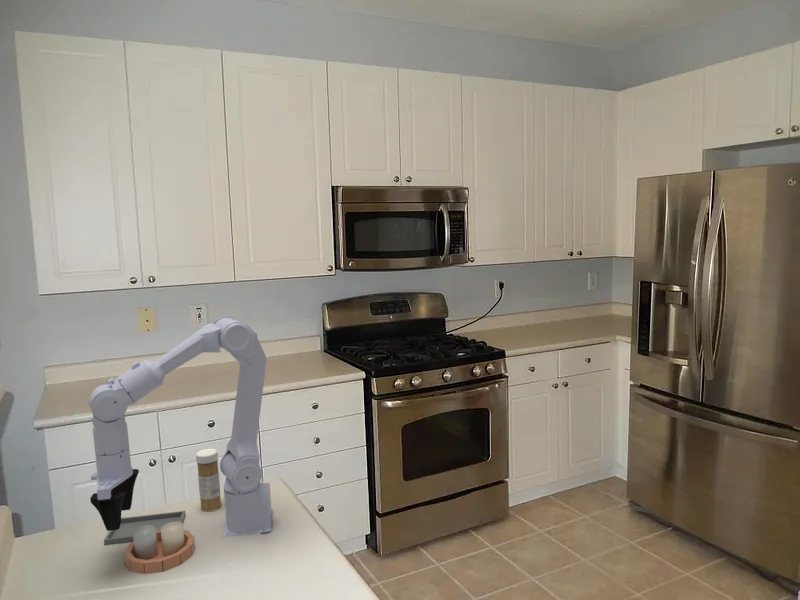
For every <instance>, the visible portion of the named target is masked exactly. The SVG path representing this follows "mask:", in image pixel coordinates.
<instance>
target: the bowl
mask: <svg viewBox="0 0 800 600" xmlns="http://www.w3.org/2000/svg"><path fill="white" fill-rule="evenodd" d="M183 530H184V541H185V546H184V547H183V548H182V549H181V550H179V551H178V552H177V553H174V554H172V555H169V556H166V557H165V556H164V555H163V548H162V537H161V530H157V531H156V537H157V547H158V554H157V555H156V556H155V557H154V558H152V559H149V560H143V559H138V558H135V550H134V541H133V542H129V544H128V546H127V547H126V550H125V551H124V560H125V561H124V562H125V565H126V567H127V568H128V570H129V571H131V572H132V573H133V572H134V573H139V574H143V575H144V574H145V575H147V574H154V573H155V574H156V573H162V572H166V571H168V570H171V569H173V568H176V567H178V566H180V565H183V564H184V563H185V562H186V561H187V560H188V559H189V558H191V557H192V556H193V554H194V551H195V548H196V545H195V536H194V535H193V534H192V533H191V532H190V531H189V530H188V529H187V530H186V529H183Z"/></svg>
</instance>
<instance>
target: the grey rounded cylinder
mask: <svg viewBox="0 0 800 600" xmlns="http://www.w3.org/2000/svg"><path fill="white" fill-rule="evenodd" d="M133 540H134V550H135V558H138V559H143V560H149V559H152V558H154V557H155V556H156V555H157V554H158V547H157V537H156V527H155V526H153V525H144V526H141V527H138V528H136V529H135V530H134V531H133Z"/></svg>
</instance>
